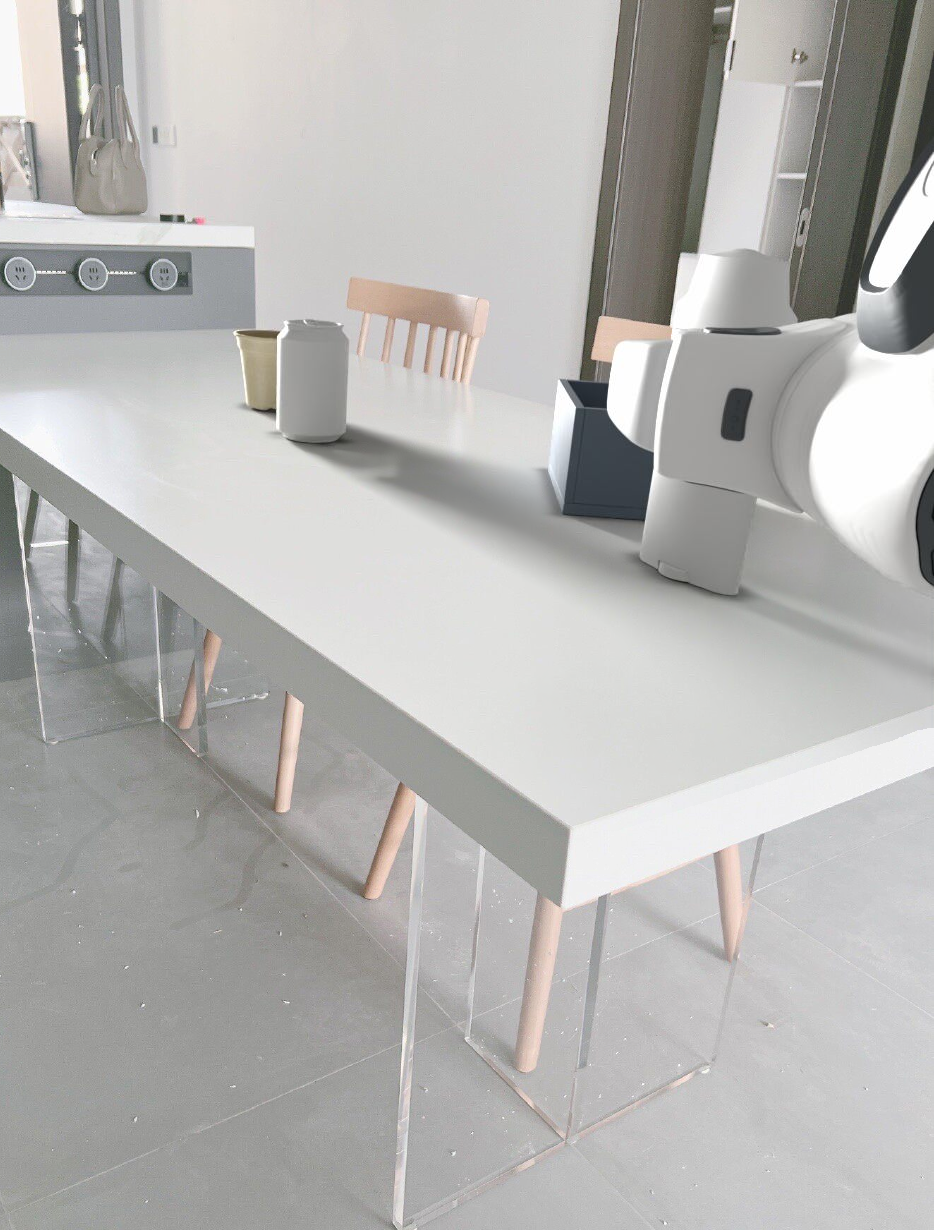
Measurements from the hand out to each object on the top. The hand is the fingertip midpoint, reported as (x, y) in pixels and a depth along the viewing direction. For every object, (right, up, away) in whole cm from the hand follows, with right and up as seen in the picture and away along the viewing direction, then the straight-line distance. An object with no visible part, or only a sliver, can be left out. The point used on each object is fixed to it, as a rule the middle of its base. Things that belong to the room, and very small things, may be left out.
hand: (777, 378), depth 59 cm
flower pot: (-37, +18, +72) cm, 83 cm away
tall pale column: (0, -9, +19) cm, 21 cm away
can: (-31, +11, +56) cm, 65 cm away
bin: (-1, +2, +40) cm, 40 cm away
